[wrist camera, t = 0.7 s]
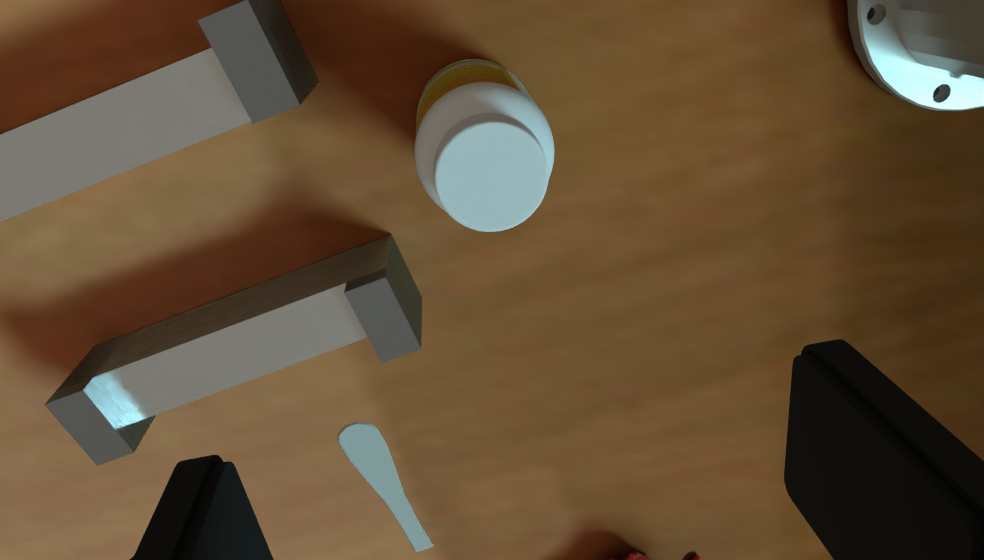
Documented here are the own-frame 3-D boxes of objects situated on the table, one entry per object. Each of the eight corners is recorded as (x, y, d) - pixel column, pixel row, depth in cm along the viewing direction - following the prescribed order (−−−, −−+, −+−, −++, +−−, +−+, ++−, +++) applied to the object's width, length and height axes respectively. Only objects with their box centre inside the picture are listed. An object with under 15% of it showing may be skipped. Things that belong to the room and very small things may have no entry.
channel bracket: (275, -8, 28) (247, -1, 24) (421, 298, 35) (421, 348, 31) (-71, 136, 30) (-159, 168, 25) (137, 403, 37) (97, 465, 32)
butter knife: (375, 415, 38) (329, 431, 39) (510, 654, 49) (473, 666, 49) (376, 410, 39) (330, 426, 39) (509, 649, 49) (472, 660, 50)
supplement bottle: (392, 121, 31) (379, 187, 22) (468, 31, 30) (485, 63, 21) (478, 193, 33) (496, 279, 24) (553, 111, 32) (601, 171, 23)
